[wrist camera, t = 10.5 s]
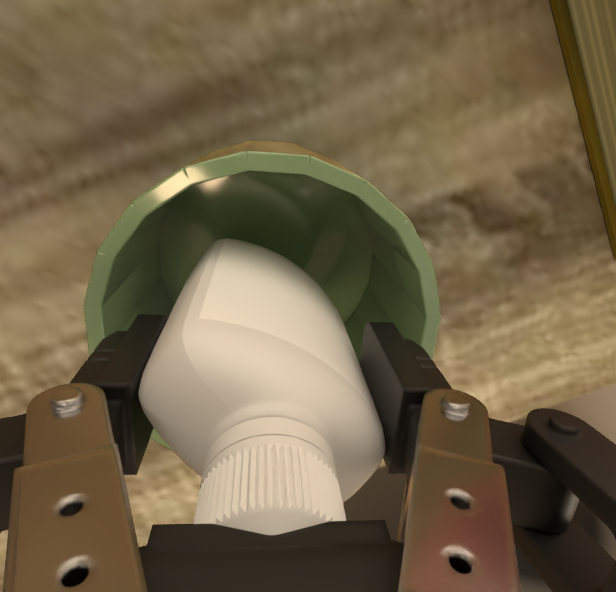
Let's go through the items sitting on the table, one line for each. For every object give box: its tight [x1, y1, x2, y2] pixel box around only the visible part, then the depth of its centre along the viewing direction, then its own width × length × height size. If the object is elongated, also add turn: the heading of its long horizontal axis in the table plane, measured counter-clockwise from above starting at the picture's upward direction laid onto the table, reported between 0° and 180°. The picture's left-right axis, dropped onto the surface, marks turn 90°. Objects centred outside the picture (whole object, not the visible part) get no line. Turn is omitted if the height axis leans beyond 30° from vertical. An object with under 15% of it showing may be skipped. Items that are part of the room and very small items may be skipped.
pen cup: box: [84, 140, 441, 452], centre depth 17 cm, size 11×11×8 cm
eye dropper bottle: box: [138, 238, 386, 535], centre depth 11 cm, size 4×6×12 cm
